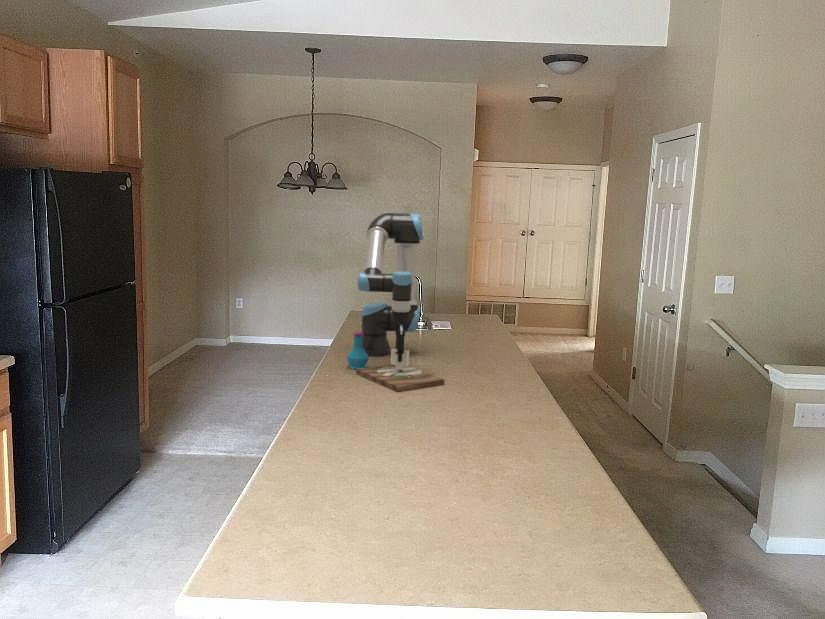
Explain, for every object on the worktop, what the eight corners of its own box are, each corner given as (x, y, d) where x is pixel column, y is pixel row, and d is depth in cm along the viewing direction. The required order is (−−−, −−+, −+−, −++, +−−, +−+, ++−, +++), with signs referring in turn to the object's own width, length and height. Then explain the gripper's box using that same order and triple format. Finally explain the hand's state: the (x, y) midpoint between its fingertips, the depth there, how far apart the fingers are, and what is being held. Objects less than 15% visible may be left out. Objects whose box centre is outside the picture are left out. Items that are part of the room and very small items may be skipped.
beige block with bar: (382, 375, 258) (382, 353, 257) (392, 369, 268) (393, 348, 267) (398, 377, 256) (399, 355, 254) (408, 371, 265) (409, 350, 264)
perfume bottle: (370, 365, 283) (371, 331, 281) (366, 370, 274) (367, 335, 272) (349, 364, 284) (349, 330, 282) (344, 369, 275) (345, 334, 272)
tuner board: (356, 373, 268) (356, 368, 268) (401, 367, 281) (401, 362, 280) (397, 392, 244) (397, 385, 244) (444, 384, 257) (444, 378, 256)
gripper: (412, 314, 254) (409, 373, 258) (408, 307, 270) (406, 363, 274) (392, 313, 253) (390, 373, 257) (390, 307, 270) (388, 362, 273)
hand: (398, 368), depth 265 cm, fingers closed on beige block with bar, 4 cm apart
